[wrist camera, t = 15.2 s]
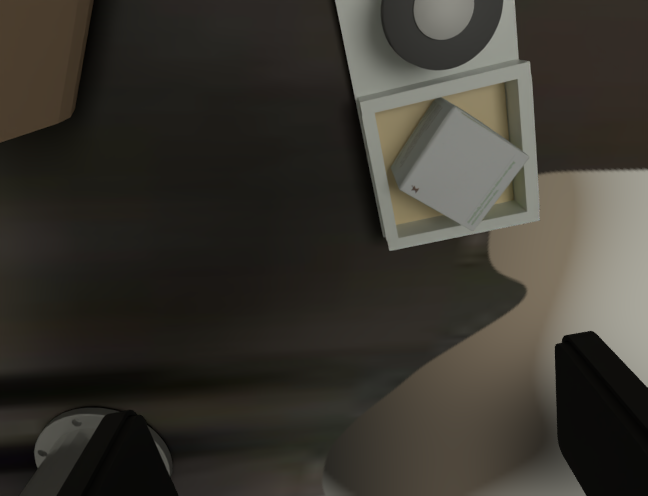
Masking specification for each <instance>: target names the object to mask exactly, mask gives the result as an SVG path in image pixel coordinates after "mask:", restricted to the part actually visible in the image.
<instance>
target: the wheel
mask: <svg viewBox="0 0 648 496" xmlns="http://www.w3.org/2000/svg"><path fill="white" fill-rule="evenodd" d="M502 9H503V0H382V1H381V24H382V28H383V32H384V34H385V37H386V39H387V41H388V43H389V45H390V46H391V47H392V49H393V50H394V51H395V52H396V53H397V54H398V55H399V56H400V57H401V58H402V59H404V60H405V61H407V62H409V63H411V64H413V65H415V66H418V67H420V68H424V69H428V70H447V69H452V68H455V67H458V66H460V65H463V64H465V63H466V62H468V61H470V60H471V59H473V58H474V57H475V56H476V55H478V54H479V53H480V52H481V51H482V50H483V49H484V48H485V46H486V45H487V44H488V43H489V41H490V40H491V38H492V37H493V35H494V33H495V31H496V29H497V27H498V24H499V21H500V18H501V14H502Z"/></svg>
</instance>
